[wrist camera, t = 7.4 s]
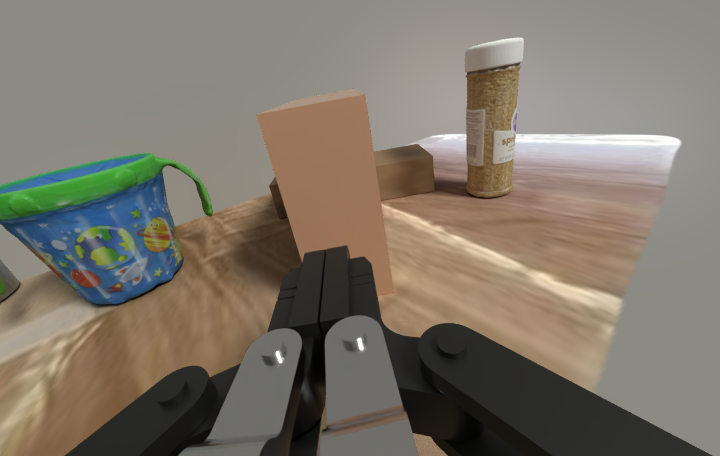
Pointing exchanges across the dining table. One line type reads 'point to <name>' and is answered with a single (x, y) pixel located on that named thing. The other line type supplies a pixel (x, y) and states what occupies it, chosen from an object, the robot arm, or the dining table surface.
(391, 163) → the brown wooden bar
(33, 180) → the snack cup
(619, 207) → the dining table surface
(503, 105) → the sprinkles bottle
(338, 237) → the block
